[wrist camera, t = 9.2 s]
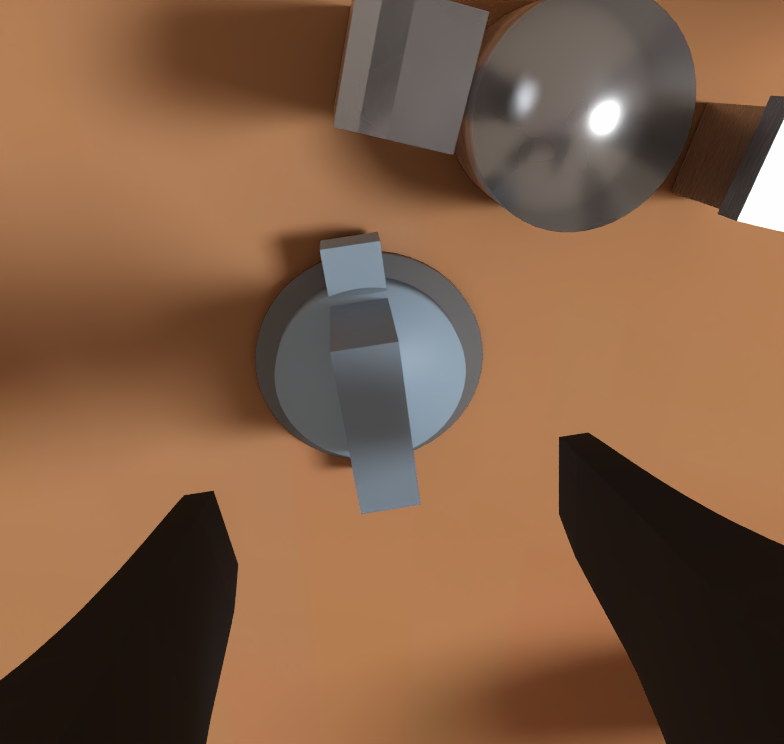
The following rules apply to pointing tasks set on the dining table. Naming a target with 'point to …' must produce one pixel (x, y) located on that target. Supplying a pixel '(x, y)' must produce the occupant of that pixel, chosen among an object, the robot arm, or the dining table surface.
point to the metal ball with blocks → (558, 108)
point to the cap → (369, 370)
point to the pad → (393, 268)
